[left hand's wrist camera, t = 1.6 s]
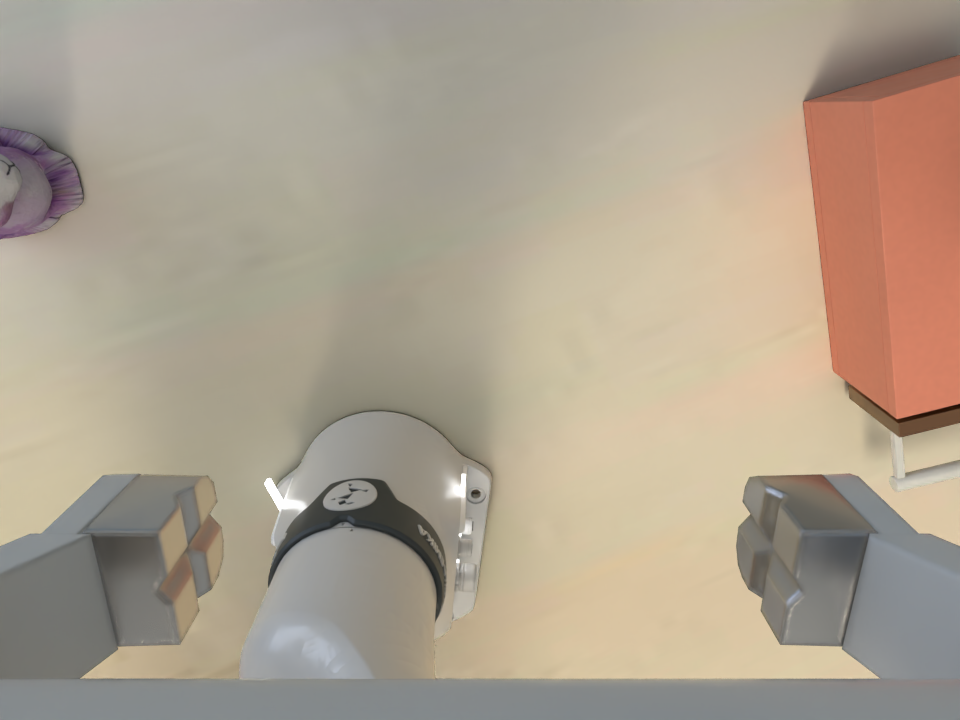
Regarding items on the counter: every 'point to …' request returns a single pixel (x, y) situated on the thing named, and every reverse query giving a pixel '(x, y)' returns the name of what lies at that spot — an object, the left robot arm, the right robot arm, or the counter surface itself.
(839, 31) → the counter surface
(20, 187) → the figurine
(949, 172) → the tall pink open box
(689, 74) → the counter surface
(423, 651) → the left robot arm
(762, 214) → the counter surface
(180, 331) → the counter surface
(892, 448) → the drawer
